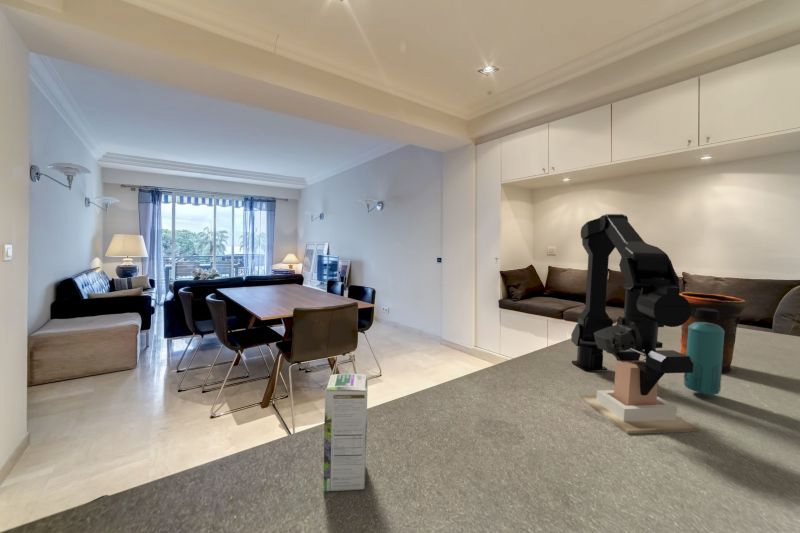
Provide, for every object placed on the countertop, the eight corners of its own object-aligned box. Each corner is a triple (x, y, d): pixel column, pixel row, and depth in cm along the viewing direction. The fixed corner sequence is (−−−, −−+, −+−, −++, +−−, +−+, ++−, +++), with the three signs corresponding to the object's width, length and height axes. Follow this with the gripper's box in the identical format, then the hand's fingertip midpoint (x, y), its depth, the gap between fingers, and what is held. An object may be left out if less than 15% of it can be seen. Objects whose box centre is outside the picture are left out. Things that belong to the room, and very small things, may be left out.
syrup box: (328, 465, 53) (328, 373, 52) (367, 463, 54) (367, 372, 52) (323, 492, 47) (322, 390, 46) (366, 490, 48) (367, 389, 47)
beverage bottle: (727, 403, 76) (736, 312, 74) (692, 399, 77) (700, 311, 75) (707, 390, 82) (715, 306, 80) (675, 387, 83) (682, 305, 82)
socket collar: (596, 401, 74) (597, 390, 74) (643, 400, 75) (644, 389, 75) (623, 421, 66) (624, 408, 66) (675, 419, 67) (677, 407, 67)
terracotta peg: (640, 397, 73) (643, 360, 72) (656, 406, 69) (659, 367, 68) (613, 398, 72) (616, 360, 71) (627, 407, 68) (630, 368, 68)
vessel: (674, 352, 110) (682, 289, 108) (737, 365, 100) (747, 297, 98) (666, 363, 100) (674, 294, 98) (735, 379, 90) (746, 303, 87)
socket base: (580, 398, 77) (580, 395, 77) (639, 396, 78) (639, 393, 78) (627, 433, 63) (627, 430, 63) (697, 431, 64) (698, 427, 64)
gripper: (574, 305, 77) (570, 373, 79) (640, 326, 59) (633, 415, 60) (621, 305, 78) (616, 372, 80) (700, 326, 60) (692, 413, 61)
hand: (635, 390), depth 70 cm, fingers closed on terracotta peg, 4 cm apart
